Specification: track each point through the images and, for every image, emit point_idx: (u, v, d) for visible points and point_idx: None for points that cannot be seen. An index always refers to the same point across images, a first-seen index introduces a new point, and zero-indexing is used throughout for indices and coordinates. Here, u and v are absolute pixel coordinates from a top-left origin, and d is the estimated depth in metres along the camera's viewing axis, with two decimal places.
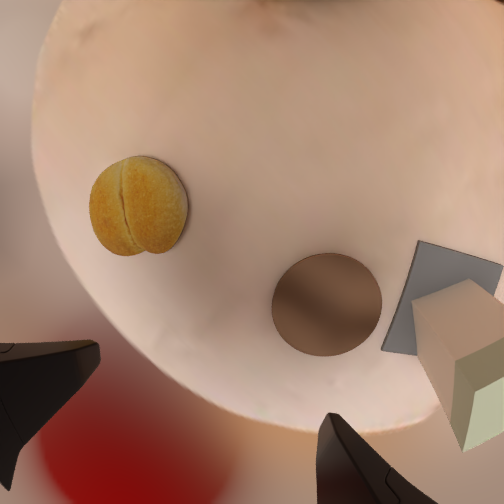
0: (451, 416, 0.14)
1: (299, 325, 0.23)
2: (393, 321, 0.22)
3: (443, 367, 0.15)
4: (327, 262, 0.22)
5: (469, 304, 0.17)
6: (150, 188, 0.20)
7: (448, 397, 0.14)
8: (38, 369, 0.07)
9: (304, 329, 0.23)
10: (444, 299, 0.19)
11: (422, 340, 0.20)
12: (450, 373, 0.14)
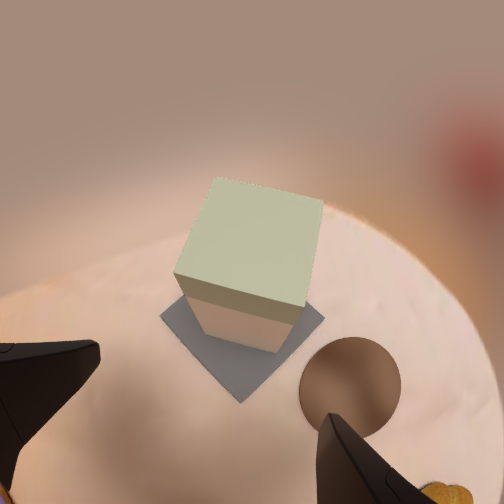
0: None
1: (382, 384, 0.21)
2: None
3: None
4: None
5: (228, 330, 0.20)
6: None
7: None
8: (38, 369, 0.07)
9: (380, 379, 0.21)
10: (247, 341, 0.22)
11: None
12: None
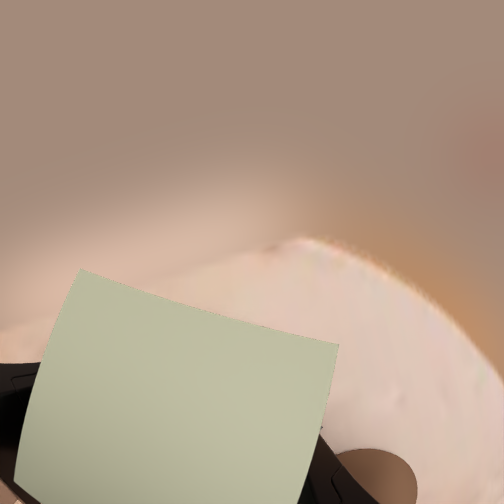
0: None
1: (393, 502, 0.11)
2: None
3: None
4: None
5: None
6: None
7: None
8: None
9: (391, 496, 0.12)
10: None
11: None
12: None
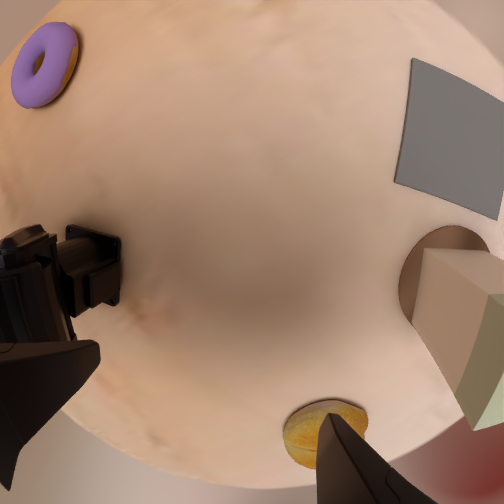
0: None
1: None
2: (471, 209, 0.18)
3: None
4: (407, 287, 0.20)
5: (440, 296, 0.16)
6: (313, 434, 0.22)
7: None
8: (38, 369, 0.07)
9: None
10: (424, 302, 0.18)
11: None
12: None
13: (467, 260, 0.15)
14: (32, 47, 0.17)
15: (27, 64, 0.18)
